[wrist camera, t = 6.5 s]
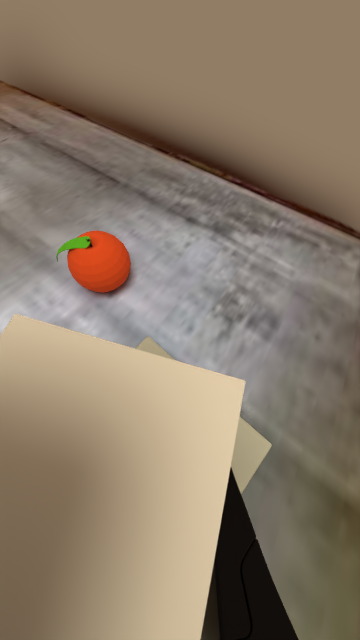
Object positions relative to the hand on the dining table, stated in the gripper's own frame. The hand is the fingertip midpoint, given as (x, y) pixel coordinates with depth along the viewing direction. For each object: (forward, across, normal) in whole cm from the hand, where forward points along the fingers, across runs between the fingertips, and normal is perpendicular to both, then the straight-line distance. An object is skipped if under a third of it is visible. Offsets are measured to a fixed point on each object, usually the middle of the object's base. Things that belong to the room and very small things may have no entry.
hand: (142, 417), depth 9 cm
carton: (+2, 0, +4) cm, 5 cm away
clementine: (+19, +13, 0) cm, 23 cm away
